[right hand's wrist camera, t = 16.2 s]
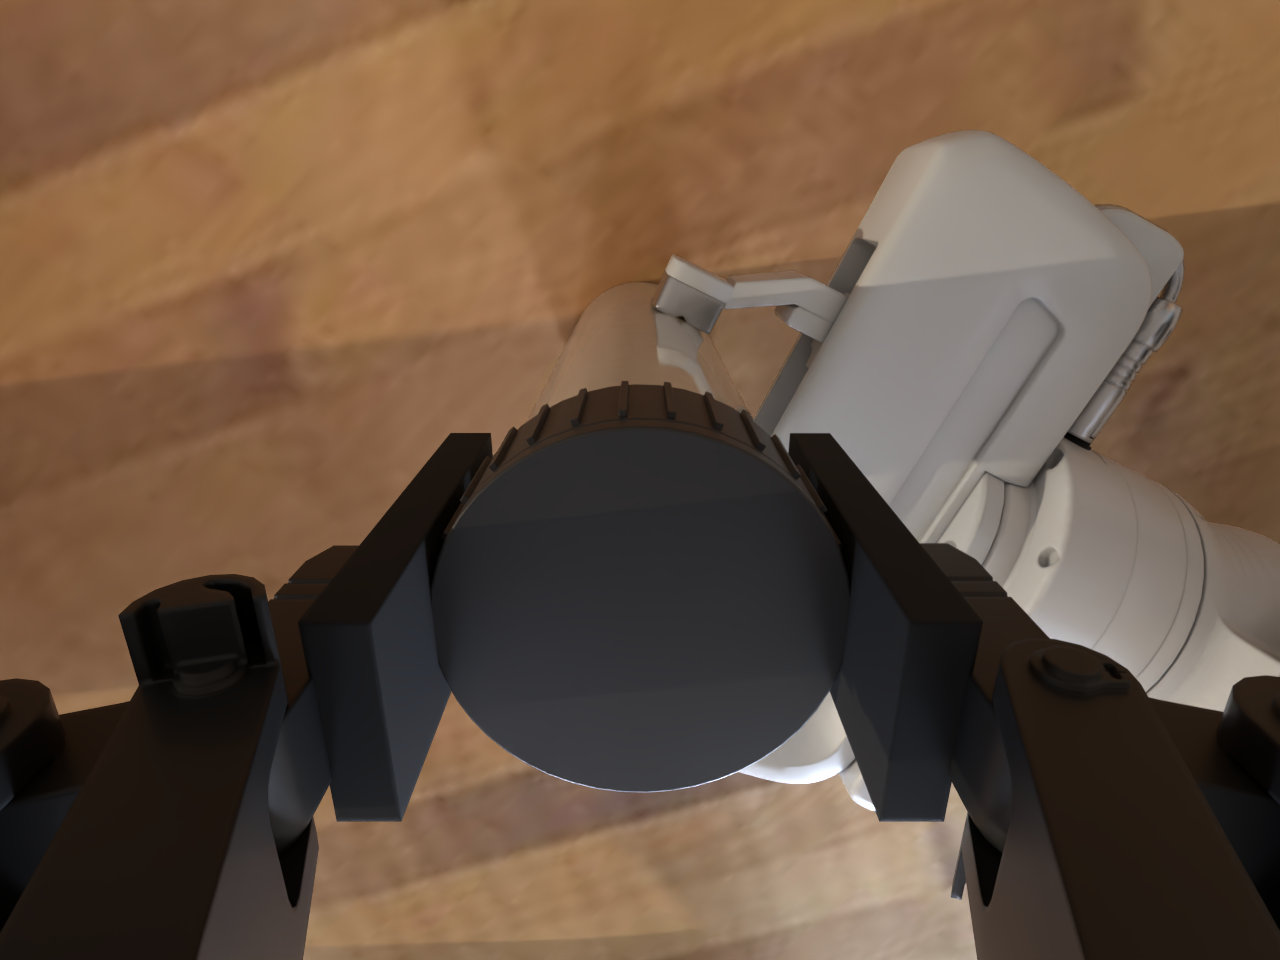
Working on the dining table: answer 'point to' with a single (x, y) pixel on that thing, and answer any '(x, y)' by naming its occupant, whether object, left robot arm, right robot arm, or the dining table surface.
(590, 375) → the jar
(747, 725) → the lid
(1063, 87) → the dining table surface
